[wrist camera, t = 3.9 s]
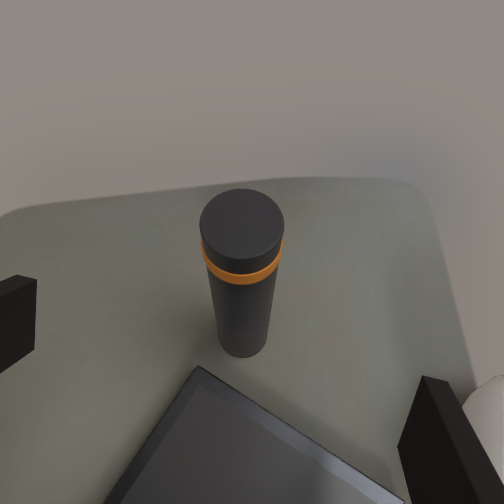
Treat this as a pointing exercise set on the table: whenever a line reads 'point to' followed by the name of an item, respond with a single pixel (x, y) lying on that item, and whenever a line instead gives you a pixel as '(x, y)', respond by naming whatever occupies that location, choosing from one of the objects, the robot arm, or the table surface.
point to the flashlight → (242, 265)
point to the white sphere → (489, 419)
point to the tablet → (236, 457)
